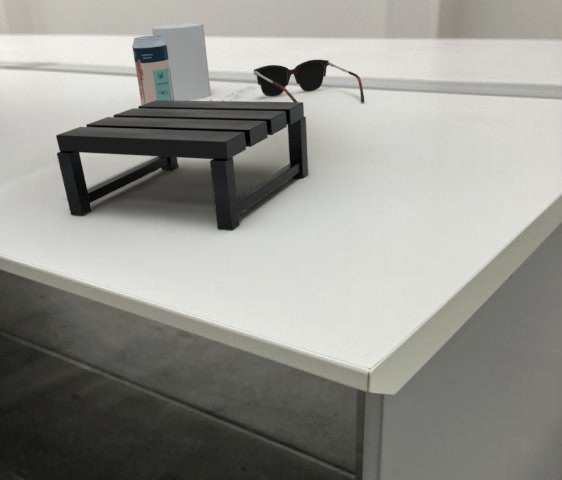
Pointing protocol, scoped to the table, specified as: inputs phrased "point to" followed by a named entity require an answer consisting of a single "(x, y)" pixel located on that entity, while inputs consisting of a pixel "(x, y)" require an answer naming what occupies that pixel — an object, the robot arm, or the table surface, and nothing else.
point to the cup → (186, 60)
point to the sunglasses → (296, 77)
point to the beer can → (152, 69)
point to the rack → (186, 147)
